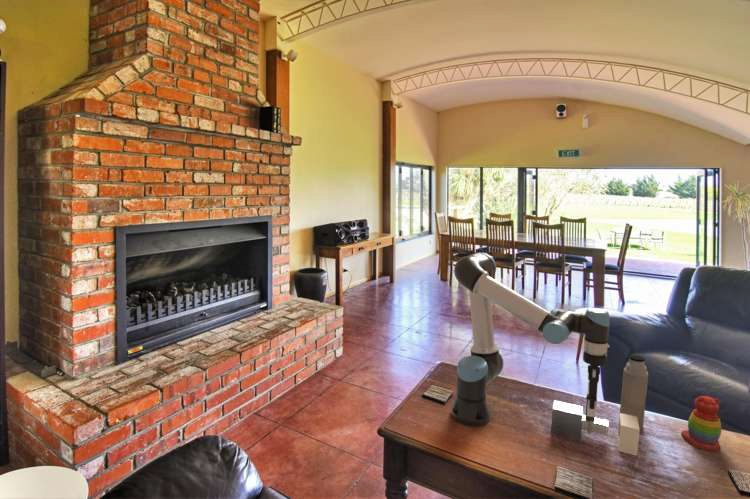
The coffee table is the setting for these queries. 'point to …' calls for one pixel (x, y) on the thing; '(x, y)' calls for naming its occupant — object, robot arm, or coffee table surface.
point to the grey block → (567, 419)
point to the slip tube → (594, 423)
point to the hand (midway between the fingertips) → (591, 407)
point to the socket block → (628, 434)
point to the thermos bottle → (634, 388)
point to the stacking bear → (704, 424)
